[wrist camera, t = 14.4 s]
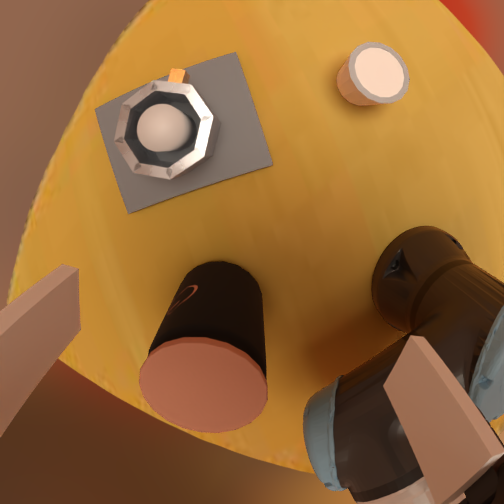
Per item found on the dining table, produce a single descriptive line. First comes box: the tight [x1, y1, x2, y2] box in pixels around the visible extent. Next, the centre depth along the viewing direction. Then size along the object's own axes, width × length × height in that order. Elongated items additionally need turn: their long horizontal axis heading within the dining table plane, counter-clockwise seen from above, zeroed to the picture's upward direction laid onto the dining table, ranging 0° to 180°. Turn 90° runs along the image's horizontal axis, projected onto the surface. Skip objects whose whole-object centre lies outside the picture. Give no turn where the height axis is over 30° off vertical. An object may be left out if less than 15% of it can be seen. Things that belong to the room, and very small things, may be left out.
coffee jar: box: [139, 262, 268, 433], centre depth 31 cm, size 11×11×18 cm
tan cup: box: [336, 42, 410, 106], centre depth 28 cm, size 7×7×7 cm
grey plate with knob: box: [95, 52, 273, 214], centre depth 29 cm, size 18×14×8 cm
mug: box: [114, 69, 221, 180], centre depth 29 cm, size 10×9×7 cm
